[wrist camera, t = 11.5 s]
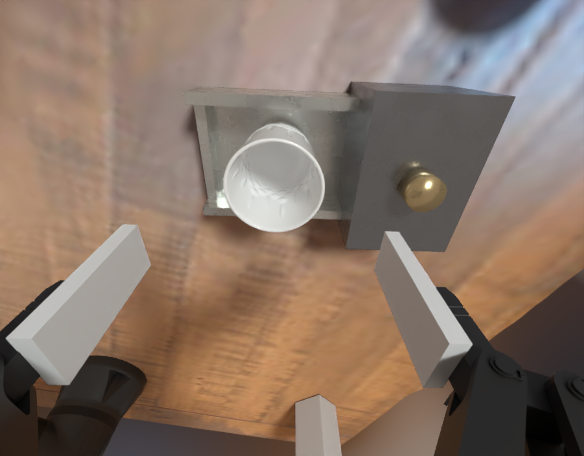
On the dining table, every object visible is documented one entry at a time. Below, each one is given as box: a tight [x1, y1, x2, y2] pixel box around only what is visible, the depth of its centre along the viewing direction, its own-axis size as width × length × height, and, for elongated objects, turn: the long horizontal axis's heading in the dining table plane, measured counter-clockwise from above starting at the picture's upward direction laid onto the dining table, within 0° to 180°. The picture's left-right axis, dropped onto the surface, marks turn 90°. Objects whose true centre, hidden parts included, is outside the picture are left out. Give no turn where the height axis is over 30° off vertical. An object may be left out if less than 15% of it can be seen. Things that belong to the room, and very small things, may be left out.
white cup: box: [223, 120, 325, 232], centre depth 24 cm, size 8×8×10 cm
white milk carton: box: [295, 395, 342, 456], centre depth 55 cm, size 7×7×19 cm
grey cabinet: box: [183, 82, 515, 252], centre depth 25 cm, size 26×14×11 cm, turn 88°
